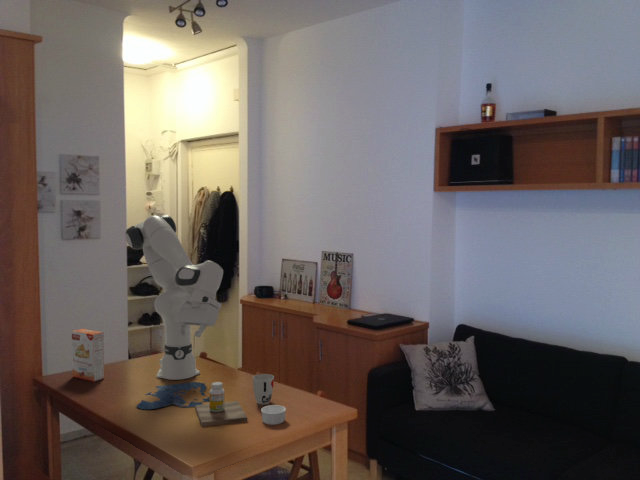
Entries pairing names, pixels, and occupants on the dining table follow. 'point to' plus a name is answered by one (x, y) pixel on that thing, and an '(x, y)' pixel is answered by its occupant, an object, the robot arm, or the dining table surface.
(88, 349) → the cracker box
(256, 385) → the cup
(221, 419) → the wooden board
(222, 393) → the supplement bottle
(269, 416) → the ramekin
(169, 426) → the dining table surface
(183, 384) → the blue cloth
